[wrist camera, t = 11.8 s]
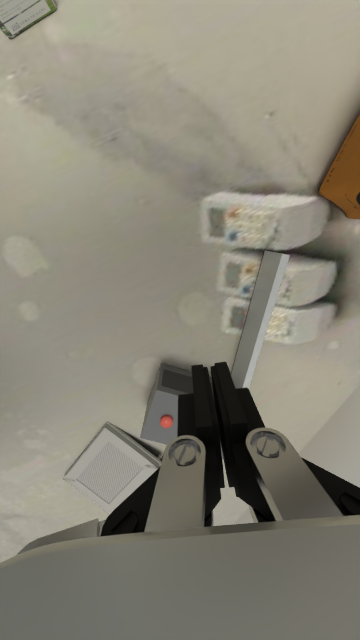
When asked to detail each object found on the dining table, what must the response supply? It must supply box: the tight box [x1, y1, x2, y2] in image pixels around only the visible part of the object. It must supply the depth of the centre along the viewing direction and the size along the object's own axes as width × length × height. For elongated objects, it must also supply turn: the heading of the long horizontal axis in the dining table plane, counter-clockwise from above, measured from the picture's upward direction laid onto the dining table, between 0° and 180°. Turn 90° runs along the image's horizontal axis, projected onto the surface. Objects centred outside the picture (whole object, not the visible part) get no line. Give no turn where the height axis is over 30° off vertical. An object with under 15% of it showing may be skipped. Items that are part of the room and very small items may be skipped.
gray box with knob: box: [140, 364, 224, 459], centre depth 35 cm, size 14×8×7 cm, turn 72°
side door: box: [231, 251, 290, 389], centre depth 31 cm, size 20×2×6 cm, turn 171°
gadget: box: [63, 422, 162, 514], centre depth 43 cm, size 23×15×4 cm, turn 53°
